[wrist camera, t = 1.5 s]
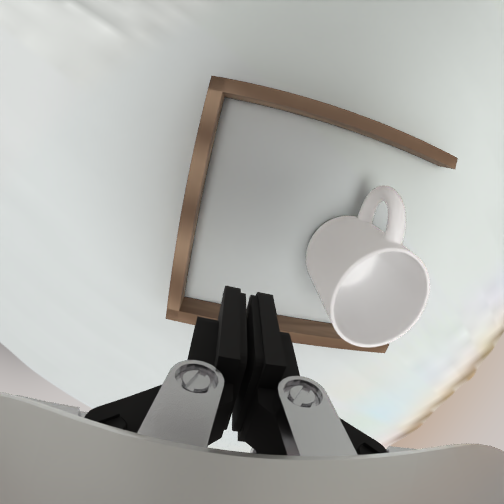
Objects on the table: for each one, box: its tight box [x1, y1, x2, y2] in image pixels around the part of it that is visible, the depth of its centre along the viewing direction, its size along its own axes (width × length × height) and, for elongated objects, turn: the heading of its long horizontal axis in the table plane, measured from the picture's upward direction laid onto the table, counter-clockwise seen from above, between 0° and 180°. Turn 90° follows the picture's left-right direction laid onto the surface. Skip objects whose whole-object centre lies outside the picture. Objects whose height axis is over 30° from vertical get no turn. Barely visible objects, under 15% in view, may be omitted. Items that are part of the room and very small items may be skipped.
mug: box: [306, 186, 430, 347], centre depth 25 cm, size 12×8×10 cm
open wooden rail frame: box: [166, 76, 458, 353], centre depth 28 cm, size 22×24×3 cm
